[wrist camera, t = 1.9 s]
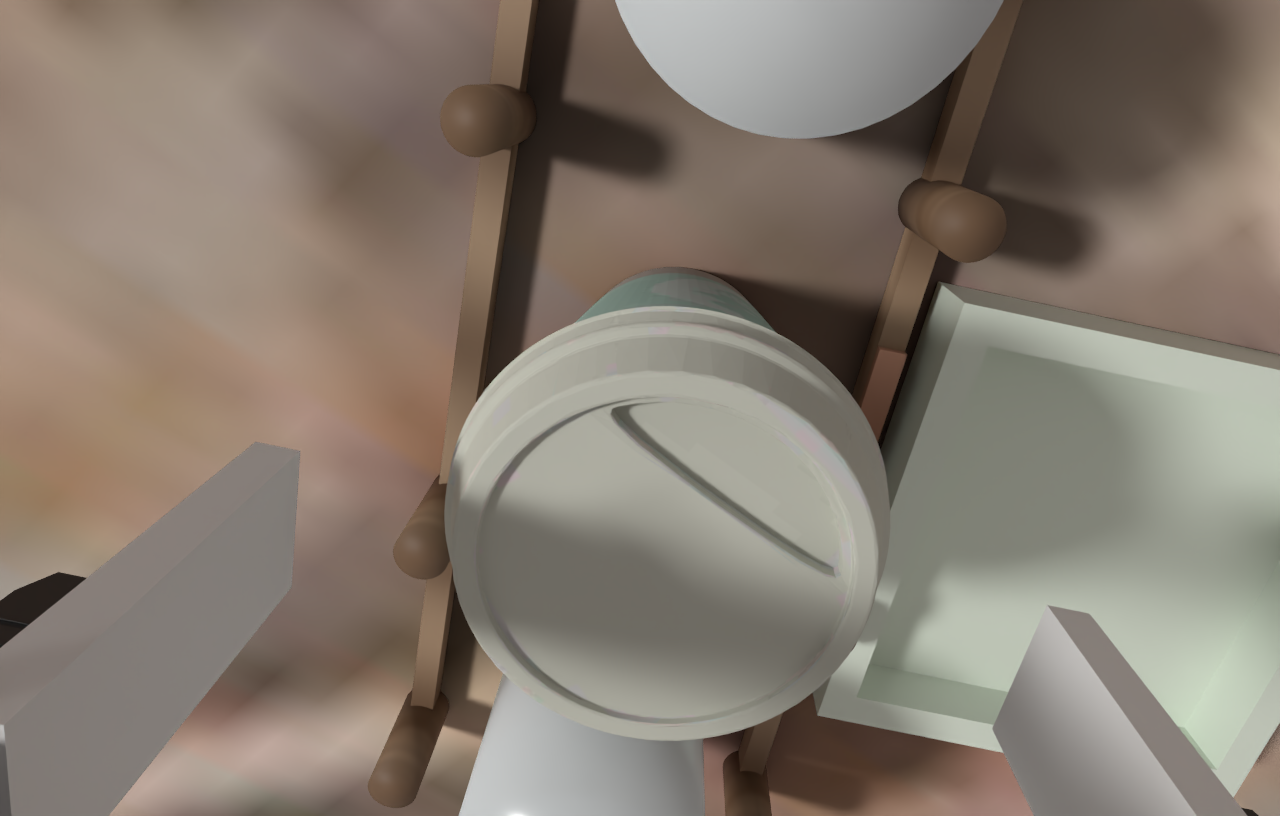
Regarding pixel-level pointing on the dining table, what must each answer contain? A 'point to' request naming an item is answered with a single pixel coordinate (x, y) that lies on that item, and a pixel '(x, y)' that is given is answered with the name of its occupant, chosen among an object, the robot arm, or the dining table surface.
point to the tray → (1075, 523)
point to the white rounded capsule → (577, 767)
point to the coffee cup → (667, 515)
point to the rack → (492, 132)
